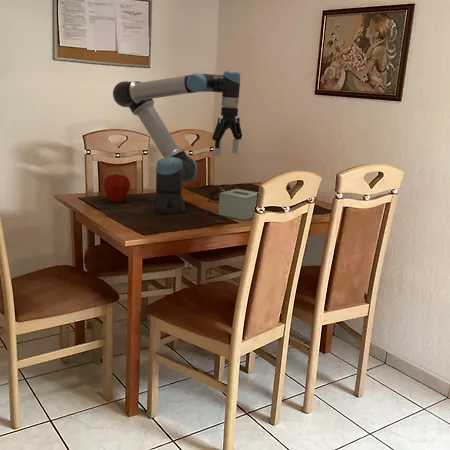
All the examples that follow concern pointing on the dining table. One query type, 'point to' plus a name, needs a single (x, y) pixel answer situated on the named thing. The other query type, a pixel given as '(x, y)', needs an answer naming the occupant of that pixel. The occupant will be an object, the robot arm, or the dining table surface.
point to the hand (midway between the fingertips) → (226, 154)
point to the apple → (116, 187)
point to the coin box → (237, 204)
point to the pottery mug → (217, 192)
